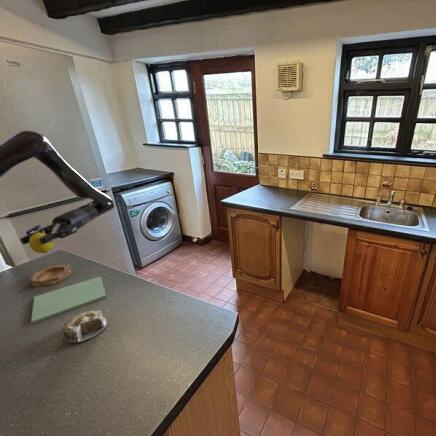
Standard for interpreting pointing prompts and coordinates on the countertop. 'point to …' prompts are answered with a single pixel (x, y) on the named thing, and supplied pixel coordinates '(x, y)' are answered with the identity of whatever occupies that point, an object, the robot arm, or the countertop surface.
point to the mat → (67, 299)
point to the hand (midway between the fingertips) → (32, 241)
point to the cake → (84, 326)
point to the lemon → (39, 243)
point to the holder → (50, 275)
